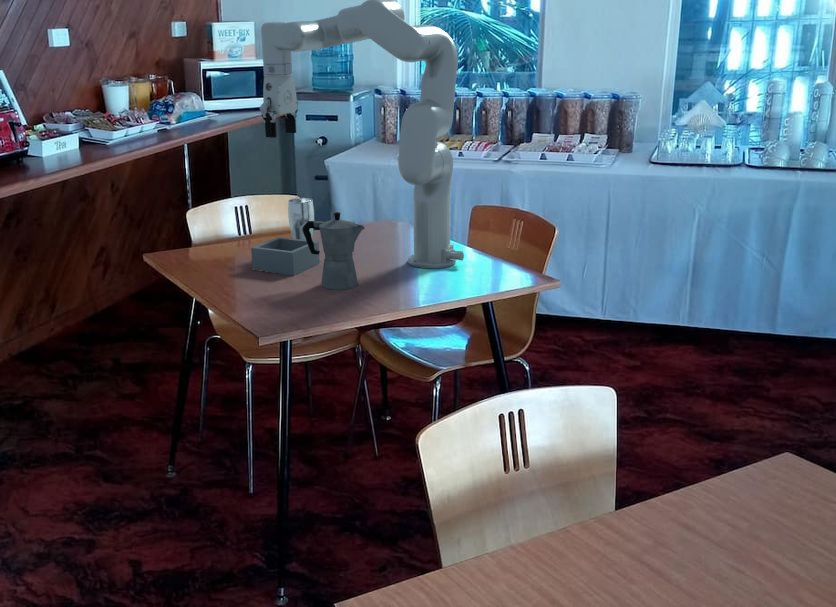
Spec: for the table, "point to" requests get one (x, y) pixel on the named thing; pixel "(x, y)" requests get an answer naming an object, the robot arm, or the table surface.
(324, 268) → the coffeepot
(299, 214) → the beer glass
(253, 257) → the grey open box
